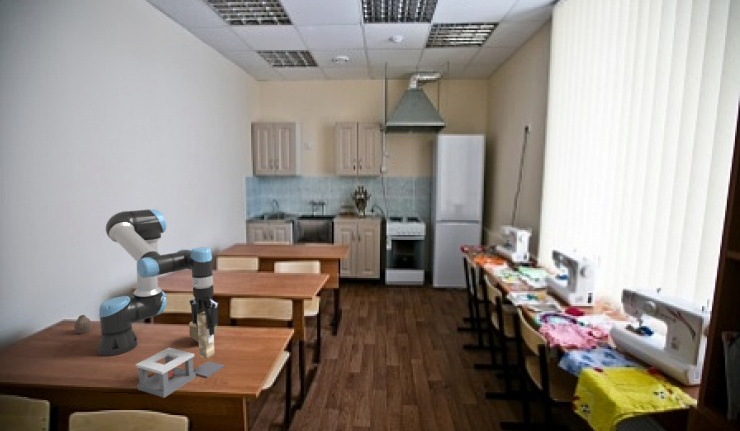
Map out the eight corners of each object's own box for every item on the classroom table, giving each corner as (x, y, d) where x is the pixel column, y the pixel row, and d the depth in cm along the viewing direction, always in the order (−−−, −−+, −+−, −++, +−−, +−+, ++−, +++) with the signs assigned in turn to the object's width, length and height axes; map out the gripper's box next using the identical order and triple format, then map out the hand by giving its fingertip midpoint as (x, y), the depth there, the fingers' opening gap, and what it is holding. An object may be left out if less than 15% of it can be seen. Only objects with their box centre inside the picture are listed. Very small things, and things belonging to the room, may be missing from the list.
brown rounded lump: (71, 334, 180) (69, 318, 179) (84, 328, 186) (82, 312, 185) (82, 335, 178) (81, 318, 178) (95, 329, 185) (93, 313, 184)
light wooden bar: (199, 356, 145) (197, 314, 143) (207, 352, 148) (204, 311, 146) (206, 358, 143) (204, 315, 141) (214, 353, 147) (212, 312, 145)
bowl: (224, 339, 174) (223, 319, 173) (199, 349, 164) (198, 329, 162) (208, 333, 181) (207, 314, 180) (184, 343, 170) (183, 323, 169)
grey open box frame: (137, 389, 133) (135, 364, 132) (170, 370, 146) (169, 347, 145) (164, 397, 128) (162, 371, 127) (195, 377, 141) (194, 353, 140)
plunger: (158, 383, 136) (157, 370, 135) (168, 377, 140) (167, 365, 139) (166, 386, 134) (165, 373, 134) (176, 380, 138) (175, 367, 138)
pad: (190, 373, 144) (190, 371, 144) (208, 362, 152) (207, 361, 152) (207, 377, 141) (207, 376, 141) (224, 366, 149) (224, 365, 149)
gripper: (179, 286, 142) (183, 341, 145) (212, 291, 136) (215, 348, 138) (195, 281, 149) (198, 334, 152) (226, 285, 143) (229, 340, 145)
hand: (206, 341), depth 145 cm, fingers closed on light wooden bar, 4 cm apart
